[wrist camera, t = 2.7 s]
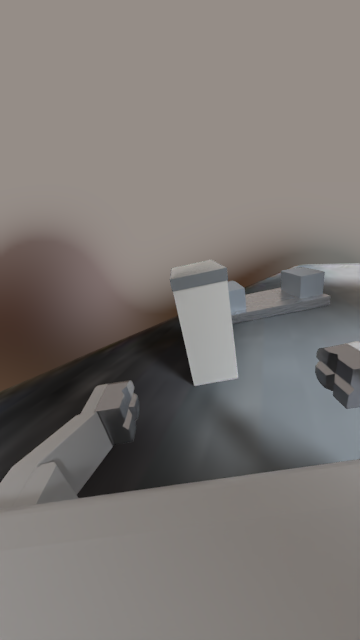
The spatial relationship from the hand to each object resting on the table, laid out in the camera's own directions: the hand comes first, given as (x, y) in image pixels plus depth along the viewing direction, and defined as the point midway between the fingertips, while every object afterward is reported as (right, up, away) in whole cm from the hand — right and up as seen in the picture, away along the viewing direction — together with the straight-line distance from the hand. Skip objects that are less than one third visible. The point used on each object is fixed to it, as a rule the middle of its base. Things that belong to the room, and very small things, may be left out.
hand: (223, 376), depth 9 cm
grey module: (+2, -2, +14) cm, 15 cm away
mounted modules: (+13, +6, +25) cm, 29 cm away
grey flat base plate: (+13, +5, +26) cm, 29 cm away
